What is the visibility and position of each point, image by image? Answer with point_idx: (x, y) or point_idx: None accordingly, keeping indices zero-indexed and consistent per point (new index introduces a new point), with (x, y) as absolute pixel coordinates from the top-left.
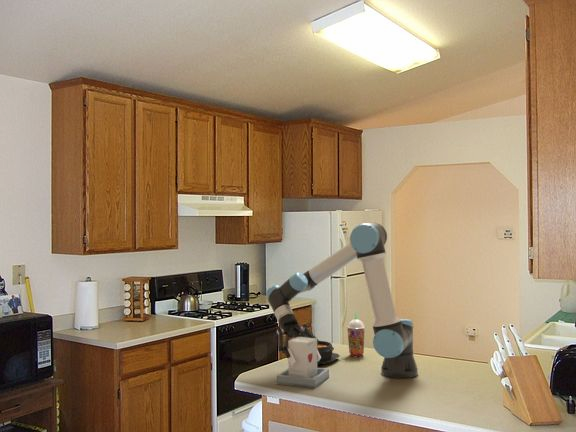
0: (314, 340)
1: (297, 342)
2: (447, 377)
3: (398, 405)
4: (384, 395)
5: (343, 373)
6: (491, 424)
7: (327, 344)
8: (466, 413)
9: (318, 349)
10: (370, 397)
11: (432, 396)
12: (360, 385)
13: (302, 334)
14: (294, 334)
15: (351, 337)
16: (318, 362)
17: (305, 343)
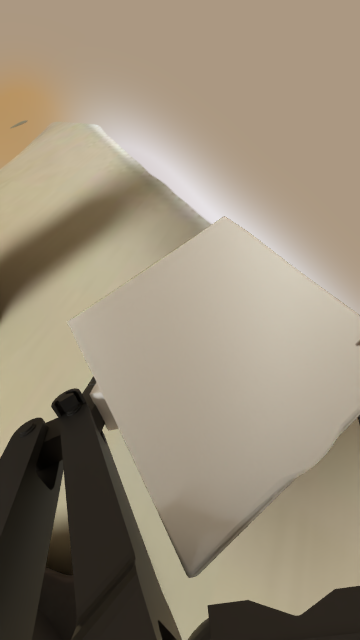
0: (116, 291)
1: (294, 273)
2: None
3: (114, 180)
4: (98, 218)
5: (53, 400)
6: (73, 127)
7: None
8: (65, 149)
9: (93, 378)
10: (126, 215)
11: (41, 199)
12: (93, 280)
13: (132, 561)
14: (324, 610)
15: None
16: (47, 576)
17: (231, 227)
